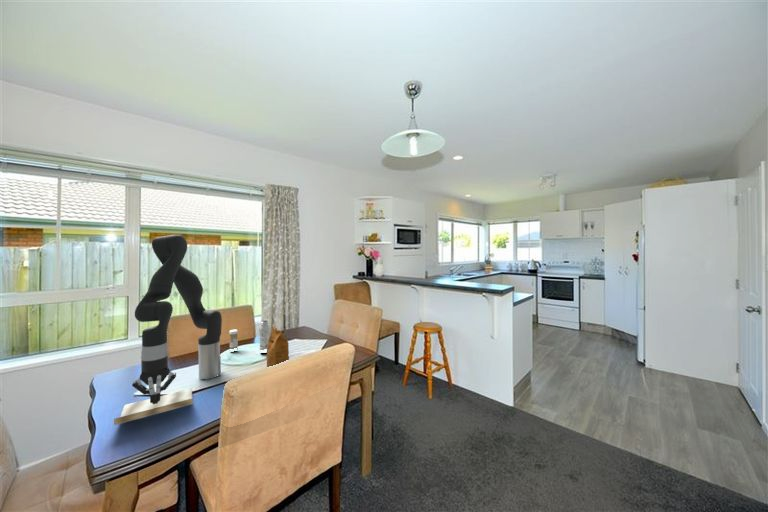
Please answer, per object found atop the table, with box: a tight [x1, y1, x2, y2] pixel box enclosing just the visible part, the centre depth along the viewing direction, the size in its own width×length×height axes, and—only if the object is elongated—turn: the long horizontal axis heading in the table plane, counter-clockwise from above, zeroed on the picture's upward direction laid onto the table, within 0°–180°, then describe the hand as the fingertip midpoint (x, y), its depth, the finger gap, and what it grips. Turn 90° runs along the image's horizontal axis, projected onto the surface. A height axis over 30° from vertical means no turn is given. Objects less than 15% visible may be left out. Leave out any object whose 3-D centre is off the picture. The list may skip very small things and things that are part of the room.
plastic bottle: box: [258, 320, 271, 350], centre depth 170 cm, size 6×7×20 cm
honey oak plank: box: [113, 397, 194, 426], centre depth 104 cm, size 22×12×2 cm, turn 126°
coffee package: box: [265, 326, 290, 368], centre depth 149 cm, size 10×12×22 cm
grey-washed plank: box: [120, 388, 193, 417], centre depth 113 cm, size 22×10×2 cm, turn 126°
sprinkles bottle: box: [228, 329, 239, 350], centre depth 174 cm, size 5×5×13 cm
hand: (155, 402), depth 102 cm, fingers closed
